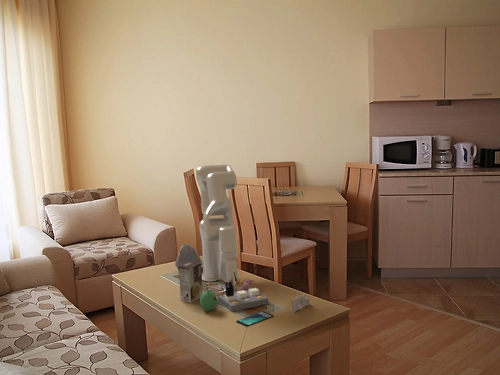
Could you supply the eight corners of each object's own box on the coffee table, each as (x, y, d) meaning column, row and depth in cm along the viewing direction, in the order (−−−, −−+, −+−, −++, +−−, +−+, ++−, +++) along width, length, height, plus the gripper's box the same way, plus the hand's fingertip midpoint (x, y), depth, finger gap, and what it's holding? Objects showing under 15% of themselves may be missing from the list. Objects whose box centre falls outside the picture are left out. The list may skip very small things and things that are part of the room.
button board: (218, 301, 209) (218, 295, 209) (253, 294, 217) (253, 288, 217) (231, 311, 197) (231, 305, 196) (268, 303, 205) (268, 297, 204)
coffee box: (192, 294, 219) (190, 261, 217) (203, 296, 216) (201, 262, 214) (179, 300, 212) (178, 266, 210) (191, 303, 208) (189, 268, 206)
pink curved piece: (244, 298, 216) (251, 285, 215) (236, 293, 217) (242, 281, 216) (249, 291, 226) (255, 278, 225) (240, 286, 227) (246, 274, 225)
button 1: (224, 300, 206) (224, 295, 205) (231, 299, 207) (231, 293, 207) (227, 303, 203) (227, 297, 202) (235, 301, 204) (235, 295, 204)
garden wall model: (306, 303, 203) (306, 290, 203) (310, 304, 202) (310, 291, 202) (290, 312, 194) (290, 298, 194) (294, 313, 193) (294, 299, 193)
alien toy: (219, 312, 196) (218, 289, 195) (201, 314, 195) (200, 291, 194) (217, 306, 203) (216, 284, 202) (199, 308, 202) (198, 286, 200)
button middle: (236, 297, 208) (236, 291, 208) (243, 295, 210) (243, 290, 210) (240, 299, 205) (239, 293, 205) (247, 298, 207) (247, 292, 206)
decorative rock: (177, 273, 253) (176, 246, 251) (173, 270, 259) (172, 244, 257) (205, 268, 260) (204, 242, 259) (200, 265, 266) (199, 240, 264)
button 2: (248, 294, 211) (248, 289, 211) (255, 293, 213) (255, 287, 212) (252, 297, 208) (252, 291, 208) (259, 295, 210) (259, 290, 209)
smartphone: (274, 315, 190) (246, 326, 181) (274, 317, 190) (246, 327, 181) (263, 310, 196) (235, 320, 186) (263, 312, 196) (235, 322, 186)
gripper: (213, 252, 207) (215, 292, 209) (227, 259, 194) (229, 302, 196) (228, 250, 211) (230, 289, 213) (243, 257, 197) (245, 299, 199)
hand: (229, 295), depth 204 cm, fingers closed
